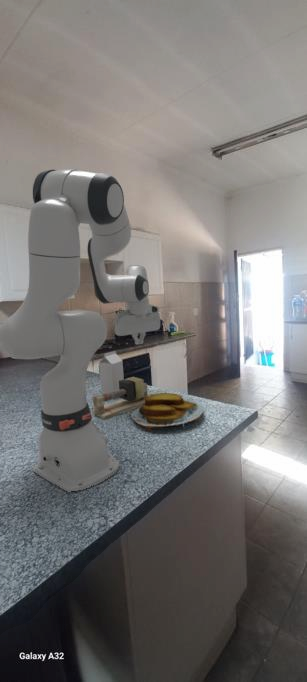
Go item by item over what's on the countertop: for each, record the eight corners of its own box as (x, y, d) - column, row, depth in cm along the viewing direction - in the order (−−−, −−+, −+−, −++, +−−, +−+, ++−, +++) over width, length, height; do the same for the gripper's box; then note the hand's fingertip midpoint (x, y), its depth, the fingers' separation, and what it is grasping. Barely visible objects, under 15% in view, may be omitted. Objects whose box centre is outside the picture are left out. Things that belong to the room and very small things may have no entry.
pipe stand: (151, 402, 116) (150, 384, 114) (103, 420, 102) (101, 399, 100) (138, 397, 122) (136, 380, 121) (90, 413, 108) (89, 394, 107)
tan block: (144, 396, 115) (143, 379, 113) (136, 399, 112) (135, 381, 111) (134, 393, 119) (133, 376, 118) (126, 395, 117) (125, 378, 116)
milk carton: (125, 394, 127) (121, 351, 124) (114, 399, 121) (111, 354, 119) (112, 392, 131) (109, 350, 128) (101, 397, 125) (97, 353, 122)
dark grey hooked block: (134, 399, 111) (133, 382, 110) (129, 401, 110) (128, 383, 109) (125, 396, 116) (123, 379, 115) (120, 397, 115) (118, 380, 114)
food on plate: (153, 442, 85) (152, 421, 84) (119, 415, 106) (118, 397, 105) (220, 419, 97) (219, 400, 96) (177, 399, 119) (176, 383, 118)
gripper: (120, 311, 105) (122, 349, 107) (162, 307, 118) (163, 341, 120) (110, 310, 109) (112, 347, 112) (152, 306, 122) (153, 339, 125)
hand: (139, 344), depth 116 cm, fingers closed
